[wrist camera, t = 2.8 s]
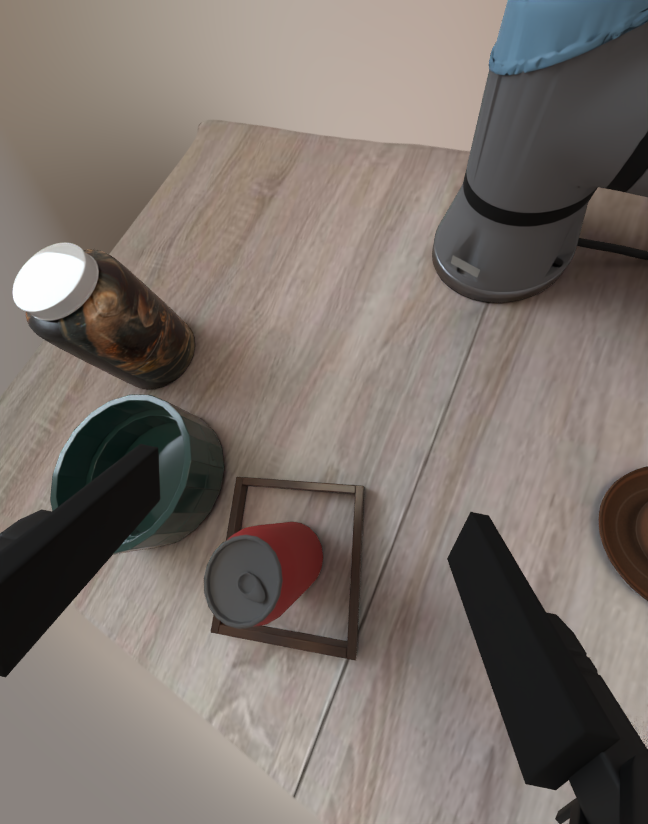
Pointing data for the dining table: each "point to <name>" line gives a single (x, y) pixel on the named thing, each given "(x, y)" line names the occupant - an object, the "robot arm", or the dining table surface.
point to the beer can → (261, 573)
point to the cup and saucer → (627, 528)
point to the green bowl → (178, 464)
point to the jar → (103, 315)
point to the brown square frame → (350, 647)
